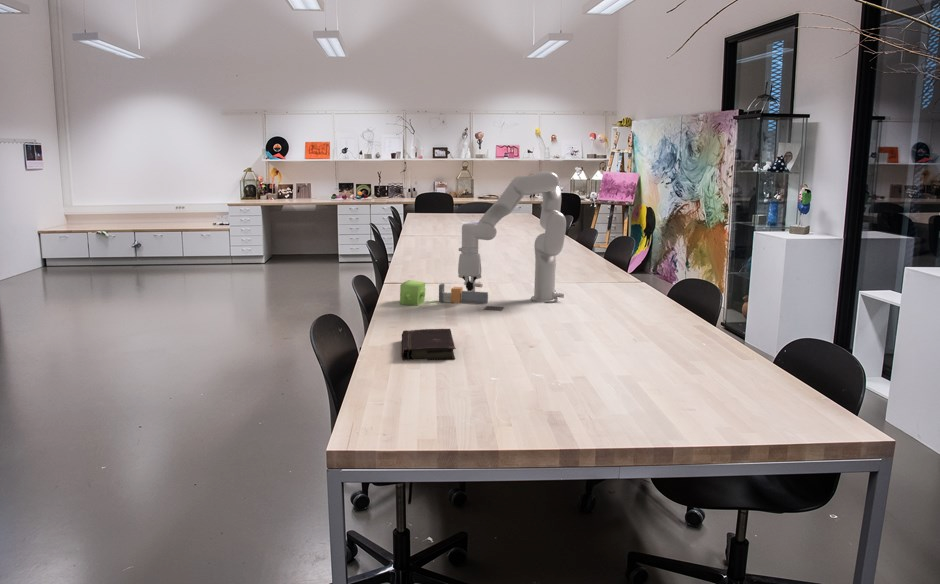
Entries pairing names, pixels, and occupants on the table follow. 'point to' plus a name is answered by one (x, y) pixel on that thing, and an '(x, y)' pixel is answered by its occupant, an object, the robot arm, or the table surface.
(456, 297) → the clip
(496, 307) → the pad
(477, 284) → the pipe connector
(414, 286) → the green square teapot
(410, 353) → the diary
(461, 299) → the rail
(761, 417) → the table surface
